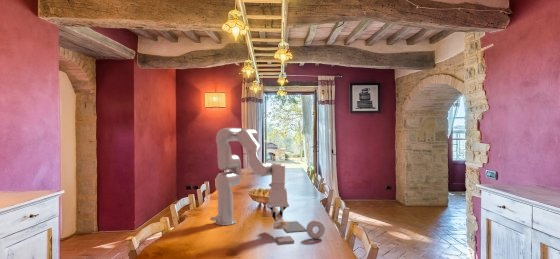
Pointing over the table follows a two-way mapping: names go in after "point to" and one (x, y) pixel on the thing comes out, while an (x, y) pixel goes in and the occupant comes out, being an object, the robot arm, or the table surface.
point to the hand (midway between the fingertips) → (277, 218)
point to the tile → (284, 240)
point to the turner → (279, 221)
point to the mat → (295, 227)
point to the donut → (320, 232)
